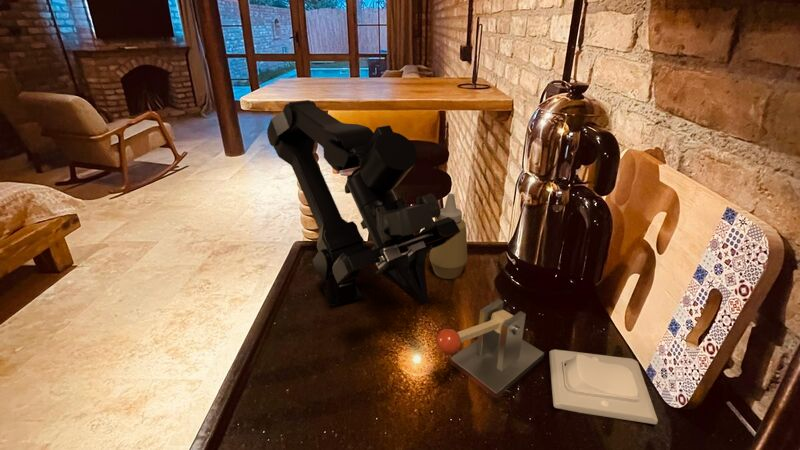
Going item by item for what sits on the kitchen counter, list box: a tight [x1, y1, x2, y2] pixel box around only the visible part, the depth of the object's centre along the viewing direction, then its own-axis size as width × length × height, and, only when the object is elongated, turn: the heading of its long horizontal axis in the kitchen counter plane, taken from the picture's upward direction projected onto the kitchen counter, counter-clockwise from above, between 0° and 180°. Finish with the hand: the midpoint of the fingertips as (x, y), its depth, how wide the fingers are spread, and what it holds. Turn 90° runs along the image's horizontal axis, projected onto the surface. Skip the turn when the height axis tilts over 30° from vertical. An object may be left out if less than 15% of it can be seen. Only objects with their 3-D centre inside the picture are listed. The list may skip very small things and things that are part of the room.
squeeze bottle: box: [428, 193, 468, 280], centre depth 84 cm, size 8×8×18 cm
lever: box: [435, 309, 514, 355], centre depth 57 cm, size 15×3×3 cm, turn 130°
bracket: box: [449, 298, 545, 400], centre depth 62 cm, size 12×9×10 cm
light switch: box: [548, 349, 659, 425], centre depth 59 cm, size 11×4×13 cm
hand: (424, 304), depth 55 cm, fingers closed
